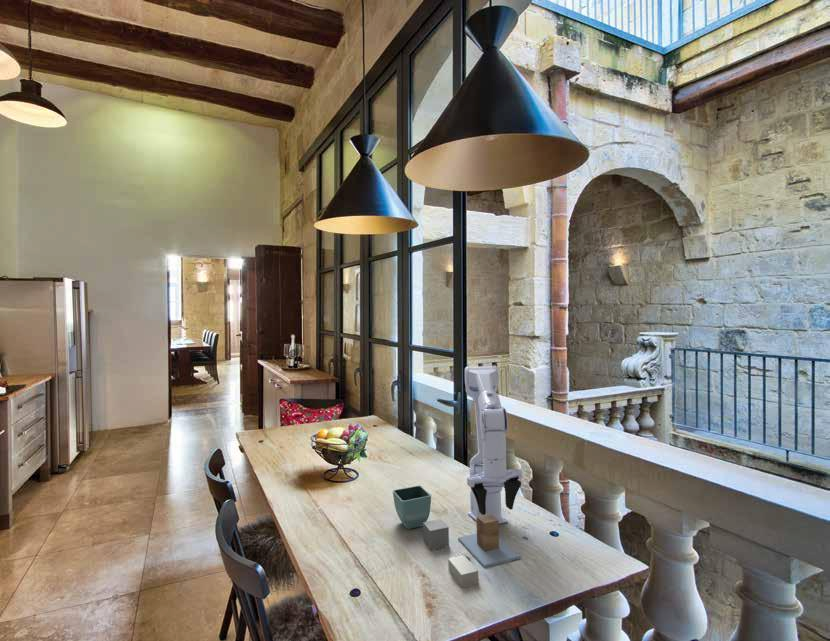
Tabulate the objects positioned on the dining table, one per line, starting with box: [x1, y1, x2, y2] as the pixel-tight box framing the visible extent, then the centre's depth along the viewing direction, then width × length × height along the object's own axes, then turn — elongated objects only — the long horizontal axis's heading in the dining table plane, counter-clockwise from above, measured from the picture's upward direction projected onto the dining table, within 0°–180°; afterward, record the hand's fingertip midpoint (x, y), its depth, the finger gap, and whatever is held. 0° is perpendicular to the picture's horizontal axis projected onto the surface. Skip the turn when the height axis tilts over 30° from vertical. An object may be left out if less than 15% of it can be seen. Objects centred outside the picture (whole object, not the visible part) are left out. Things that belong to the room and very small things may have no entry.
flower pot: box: [392, 485, 432, 530], centre depth 126 cm, size 9×9×9 cm
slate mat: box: [457, 532, 522, 568], centre depth 112 cm, size 14×10×1 cm
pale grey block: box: [447, 554, 479, 588], centre depth 100 cm, size 7×4×3 cm, turn 20°
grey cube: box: [422, 518, 450, 551], centre depth 115 cm, size 5×5×5 cm
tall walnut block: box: [475, 514, 500, 552], centre depth 112 cm, size 4×4×7 cm
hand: (495, 510), depth 112 cm, fingers open, 7 cm apart
